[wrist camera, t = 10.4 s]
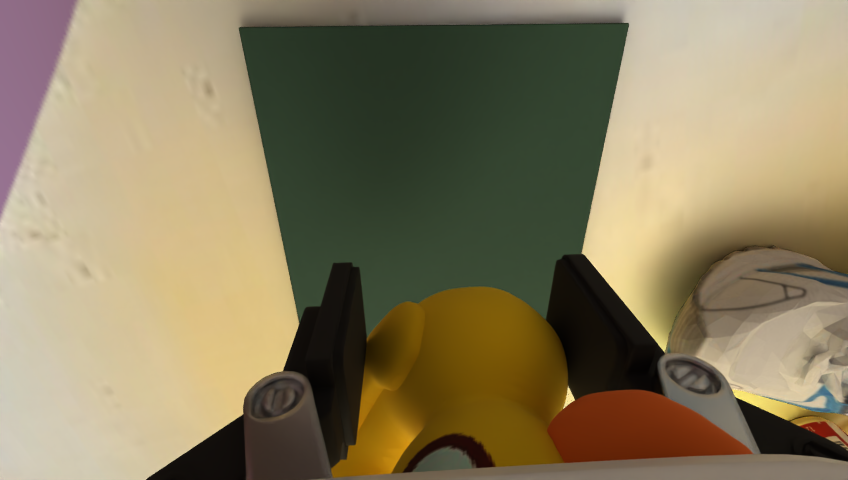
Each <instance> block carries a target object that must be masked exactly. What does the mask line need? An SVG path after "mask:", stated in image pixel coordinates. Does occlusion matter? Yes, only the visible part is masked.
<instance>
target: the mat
mask: <svg viewBox="0 0 848 480" xmlns="http://www.w3.org/2000/svg"><path fill="white" fill-rule="evenodd" d="M628 27H629V23H586V24H492V25H398V26H303V27H240V28H239V32H240V37H241V41H242V46H243V51H244V56H245V61H246V66H247V71H248V75H249V80H250V85H251V90H252V95H253V100H254V105H255V110H256V114H257V119H258V124H259V129H260V134H261V139H262V144H263V148H264V153H265V158H266V163H267V168H268V173H269V178H270V182H271V187H272V192H273V197H274V202H275V207H276V212H277V216H278V221H279V226H280V231H281V236H282V241H283V246H284V250H285V255H286V260H287V265H288V270H289V275H290V280H291V284H292V289H293V294H294V299H295V304H296V309H297V314H298V318H299V323H300V321H301V318H302V315H303V312H304V310H305V308H306V307H311V306H321V303H322V299H323V296H324V293H325V289H326V286H327V282H328V279H329V276H330V272H331V269H332V265H333V263H344V262H352V263H353V267H359V268H360V275H361V285H362V295H363V305H364V314H365V324H366V334H367V338H368V336H369V335H370V333H371V332H372V331H373V329H374V328H375V327H376V326H377V325H378V324H379V323H380V322H381V320H382V319H383V318H384V317H385V316H386V315H387V314H388V313H389V312H390V311H391V310H392V309H393V308H394V307H396V306H397V305H399V304H401V303H404V302H413V303H417V304H418V303H420V302H421V301H423V300H424V299H426V298H428V297H430V296H432V295H434V294H436V293H439V292H442V291H445V290H449V289H456V288H465V287H491V288H496V289H500V290H503V291H506V292H508V293H510V294H512V295H513V296H515V297H517V298H519V299H521V300H522V301H524V302H525V303H527V304H528V305H529V306H531V307H532V308H533V309H534V310H535V311H536V312H538V313H539V314H540V315H541V316H542V317H543V318H544V319H545V320H546V316H547V310H548V304H549V298H550V293H551V287H552V281H553V275H554V270H555V264H556V261H557V260H558V259H561V258H562V256H563V255H568V254H581V252H582V247H583V243H584V238H585V233H586V228H587V223H588V219H589V214H590V209H591V204H592V199H593V195H594V190H595V185H596V180H597V175H598V171H599V166H600V161H601V156H602V151H603V147H604V142H605V137H606V132H607V127H608V123H609V118H610V113H611V108H612V104H613V99H614V94H615V89H616V84H617V80H618V75H619V70H620V65H621V60H622V56H623V51H624V46H625V41H626V36H627V32H628Z"/></svg>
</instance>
